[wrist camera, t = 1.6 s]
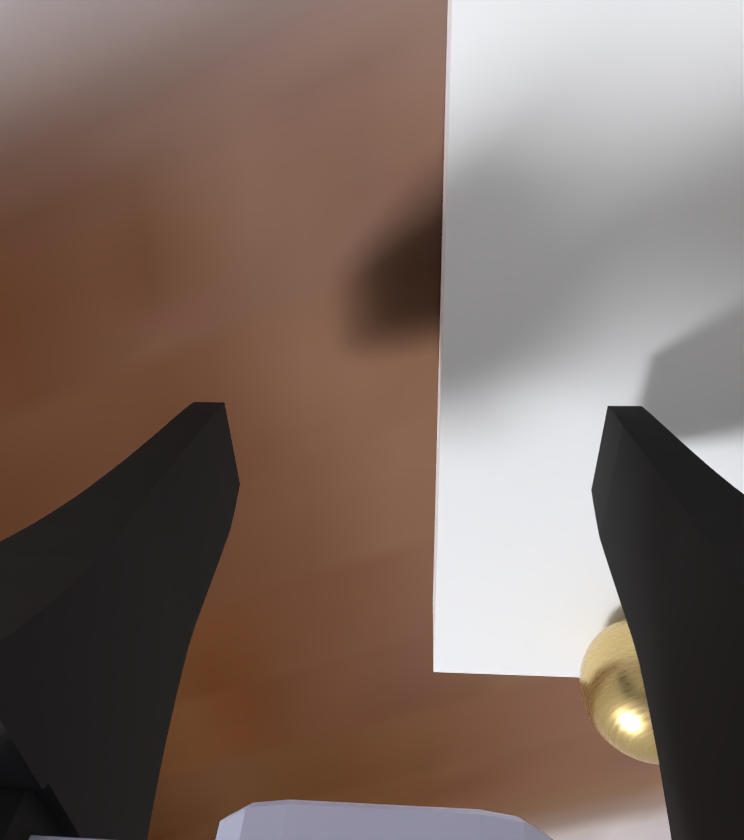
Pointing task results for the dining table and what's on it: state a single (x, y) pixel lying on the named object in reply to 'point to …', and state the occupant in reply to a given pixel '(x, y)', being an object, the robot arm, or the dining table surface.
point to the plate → (577, 298)
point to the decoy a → (617, 693)
